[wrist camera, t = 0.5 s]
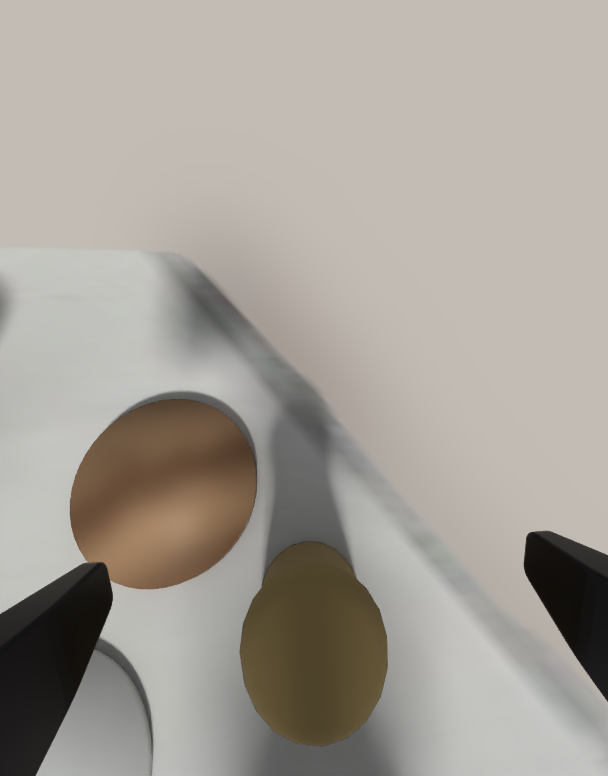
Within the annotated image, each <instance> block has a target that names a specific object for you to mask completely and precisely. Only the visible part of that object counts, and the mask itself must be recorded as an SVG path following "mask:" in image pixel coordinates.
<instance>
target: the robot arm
mask: <svg viewBox="0 0 608 776" xmlns="http://www.w3.org/2000/svg"><path fill="white" fill-rule="evenodd" d="M524 570H525V573H526V576H527V578H528V580H529V581H530V583H531V585H532V586H533V588H534V590H535V591H536V593H537V595H538V596H539V598H540V599H541V601H542V603H543V604H544V606H545V608H546V609H547V611H548V613H549V614H550V616H551V618H552V619H553V621H554V623H555V624H556V626H557V627H558V629H559V631H560V632H561V634H562V636H563V637H564V639H565V641H566V642H567V644H568V645H569V647H570V649H571V650H572V652H573V653H574V655H575V656H576V658H577V659H578V661H579V662H580V664H581V665H582V667H583V668H584V669H585V671H586V672H587V674H588V675H589V676H590V678H591V679H592V681H593V682H594V683H595V685H596V686H597V688H598V689H599V690H600V692H601V693H602V695H603V696H604V697H605V699H606V700H607V702H608V555H606V554H604V553H601V552H599V551H597V550H594V549H592V548H589V547H587V546H584V545H582V544H580V543H577V542H575V541H573V540H570V539H568V538H565V537H563V536H560V535H558V534H556V533H553V532H551V531H536V532H530V533H529V534H528V535H527V537H526V546H525V556H524ZM112 601H113V593H112V588H111V583H110V578H109V573H108V569H107V566H106V564H105V563H103V562H91V563H84V564H81V565H79V566H78V567H76V568H74V569H73V570H71V571H70V572H68V573H66V574H65V575H63V576H61V577H60V578H58V579H57V580H55V581H53V582H52V583H50V584H48V585H47V586H45V587H44V588H42V589H40V590H39V591H37V592H35V593H34V594H32V595H31V596H29V597H27V598H26V599H24V600H22V601H21V602H19V603H18V604H16V605H14V606H13V607H11V608H9V609H8V610H6V611H5V612H3V613H1V614H0V776H36V774H37V772H38V770H39V768H40V766H41V764H42V762H43V760H44V758H45V756H46V754H47V752H48V750H49V748H50V746H51V744H52V742H53V740H54V738H55V736H56V734H57V732H58V730H59V728H60V726H61V724H62V722H63V720H64V718H65V716H66V714H67V712H68V710H69V708H70V706H71V704H72V702H73V699H74V697H75V695H76V693H77V691H78V688H79V686H80V684H81V681H82V679H83V677H84V674H85V672H86V669H87V667H88V664H89V662H90V659H91V657H92V654H93V652H94V649H95V647H96V644H97V642H98V639H99V637H100V634H101V632H102V629H103V627H104V624H105V622H106V619H107V617H108V614H109V612H110V609H111V606H112Z"/></svg>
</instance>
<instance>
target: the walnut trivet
mask: <svg viewBox="0 0 608 776" xmlns="http://www.w3.org/2000/svg"><path fill="white" fill-rule="evenodd" d="M256 491H257V471H256V465H255V460H254V457H253V454H252V451H251V448H250V446H249V444H248V442H247V440H246V439H245V437H244V435H243V434H242V433H241V431H240V430H239V428H238V427H237V426H236V425H235V424H234V423H233V421H232V420H231V419H229V418H228V417H227V416H226V415H225V414H223V413H222V412H220V411H219V410H217V409H215V408H213V407H211V406H209V405H206V404H204V403H200V402H197V401H192V400H185V399H171V400H162V401H158V402H153V403H150V404H147V405H144V406H141V407H139V408H137V409H135V410H132V411H130V412H129V413H127V414H125V415H124V416H122V417H121V418H119V419H118V420H116V421H115V422H114V423H113V424H111V425H110V426H109V427H108V428H107V429H106V430H105V431H104V432H103V433H102V434H101V435H100V436H99V437H98V438H97V439H96V441H95V442H94V443H93V444H92V446H91V447H90V449H89V450H88V452H87V453H86V455H85V457H84V458H83V460H82V462H81V464H80V466H79V469H78V471H77V474H76V476H75V480H74V483H73V487H72V492H71V499H70V519H71V527H72V531H73V534H74V538H75V541H76V543H77V545H78V547H79V550H80V551H81V553H82V554H83V556H84V558H85V559H86V560H87V561H88V563H91V562H103V563H105V564H106V566H107V569H108V573H109V578H110V580H111V581H113V582H115V583H118V584H120V585H123V586H126V587H131V588H137V589H158V588H166V587H169V586H173V585H177V584H180V583H182V582H185V581H187V580H189V579H192V578H194V577H196V576H198V575H200V574H202V573H203V572H205V571H207V570H208V569H210V568H211V567H212V566H214V565H215V564H216V563H218V562H219V561H220V560H221V559H222V558H223V557H224V556H225V555H226V554H227V553H228V552H229V551H230V550H231V548H232V547H233V546H234V545H235V543H236V542H237V541H238V539H239V538H240V536H241V534H242V533H243V531H244V530H245V527H246V525H247V523H248V521H249V519H250V516H251V513H252V510H253V507H254V503H255V498H256Z"/></svg>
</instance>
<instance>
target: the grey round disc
mask: <svg viewBox="0 0 608 776" xmlns="http://www.w3.org/2000/svg"><path fill="white" fill-rule="evenodd" d="M36 776H152V742H151V733H150V727H149V721H148V717H147V714H146V710H145V707H144V703H143V701H142V699H141V696H140V694H139V692H138V690H137V688H136V686H135V685H134V683H133V681H132V680H131V678H130V676H129V675H128V674H127V673H126V672H125V671H124V669H123V668H122V667H121V666H120V665H119V664H118V663H117V662H115V661H114V660H113V659H112V658H111V657H109V656H107V655H106V654H104V653H102V652H101V651H99V650H96V649H94V652H93V654H92V657H91V659H90V662H89V664H88V667H87V669H86V672H85V674H84V677H83V679H82V681H81V684H80V686H79V688H78V691H77V693H76V695H75V697H74V699H73V702H72V704H71V706H70V708H69V710H68V712H67V714H66V716H65V718H64V720H63V722H62V724H61V726H60V728H59V730H58V732H57V734H56V736H55V738H54V740H53V742H52V744H51V746H50V748H49V750H48V752H47V754H46V756H45V758H44V760H43V762H42V764H41V766H40V768H39V770H38V772H37V774H36Z"/></svg>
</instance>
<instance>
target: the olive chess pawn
mask: <svg viewBox="0 0 608 776" xmlns="http://www.w3.org/2000/svg"><path fill="white" fill-rule="evenodd" d="M240 657H241V664H242V671H243V678H244V684H245V687H246V689H247V691H248V693H249V696H250V698H251V700H252V702H253V705H254V707H255V709H256V711H257V712H258V714H259V715H260V716H261V717H262V718H263V719H264V720H265V722H266V723H267V724H268V725H269V726H270V727H271V728H272V730H273V731H274V732H276V733H278V734H280V735H282V736H283V737H285V738H287V739H289V740H291V741H293V742H294V743H296V744H303V745H313V746H325V745H328V744H331V743H334V742H337V741H340V740H343V739H346V738H347V737H348V736H349V735H351V734H352V733H353V732H354V731H355V730H357V729H358V728H359V727H360V726H361V725H362V724H364V723H365V722H366V721H367V719H368V717H369V716H370V714H371V712H372V711H373V709H374V707H375V706H376V704H377V702H378V701H379V699H380V697H381V693H382V689H383V685H384V681H385V677H386V673H387V666H388V661H387V634H386V631H385V627H384V624H383V620H382V617H381V613H380V610H379V608H378V607H377V605H376V603H375V602H374V600H373V598H372V597H371V595H370V593H369V592H368V590H367V588H366V587H365V586H363V585H362V584H361V583H360V582H359V581H358V580H357V579H356V577H355V574H354V572H353V570H352V569H351V567H350V565H349V564H348V562H347V560H346V559H345V558H344V557H343V556H342V555H341V554H339V553H338V552H337V551H336V550H335V549H334V548H331V547H329V546H327V545H325V544H322V543H319V542H302V543H299V544H295V545H291V546H290V547H288V548H287V549H286V550H284V551H283V552H281V553H280V554H279V555H278V556H277V557H276V558H275V560H274V561H273V562H272V563H271V565H270V566H269V568H268V570H267V573H266V575H265V578H264V580H263V584H262V588H261V589H260V591H259V592H258V593H257V595H256V596H255V597H254V598H253V600H252V603H251V605H250V608H249V610H248V613H247V615H246V618H245V620H244V623H243V628H242V637H241V645H240Z"/></svg>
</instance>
